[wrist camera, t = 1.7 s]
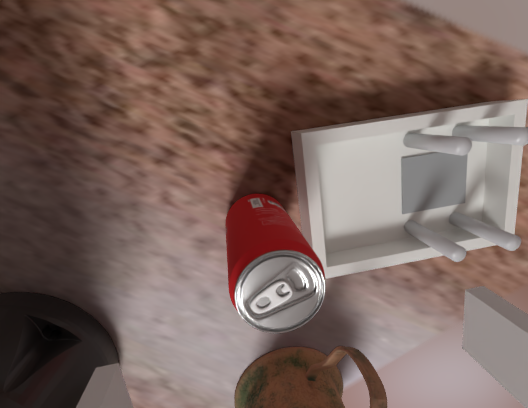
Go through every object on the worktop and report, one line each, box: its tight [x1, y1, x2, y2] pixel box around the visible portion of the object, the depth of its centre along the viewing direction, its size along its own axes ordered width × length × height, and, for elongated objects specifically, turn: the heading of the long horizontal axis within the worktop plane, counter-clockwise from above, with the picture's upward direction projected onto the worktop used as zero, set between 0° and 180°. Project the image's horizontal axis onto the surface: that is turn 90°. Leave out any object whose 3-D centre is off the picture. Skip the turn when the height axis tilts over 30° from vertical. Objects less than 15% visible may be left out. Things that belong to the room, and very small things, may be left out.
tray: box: [291, 99, 528, 279], centre depth 25 cm, size 18×12×7 cm, turn 98°
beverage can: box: [226, 194, 326, 334], centre depth 21 cm, size 5×5×12 cm
